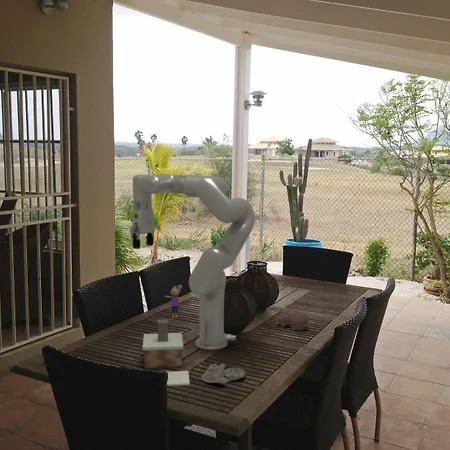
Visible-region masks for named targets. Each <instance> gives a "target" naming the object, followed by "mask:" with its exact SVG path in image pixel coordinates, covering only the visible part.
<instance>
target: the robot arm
mask: <svg viewBox="0 0 450 450" xmlns="http://www.w3.org/2000/svg"><path fill="white" fill-rule="evenodd" d="M227 192H228V182H227V181H226V180H225V179H224V178H223V177H220V176H217V175H215V176H214V175H200V174H199V175H195V174H185V175H184V174H172V173H170V174H169V173H166V174H165V173H164V174H152V175H149V174H135V175H134V176H133V177H132V209H133V210H132V220H131V221H132V223H131V226H130V228H129V233H130V236H131V239H132V249H133V250H135V249H136V250H140V249H141V238H140V237H141V235H145V236H146V237H145V240H146V241H145V244H146V245H147V246H154V236H155V231H156V223H155V215H154V209H153V198H152V197H153V196H152V195H159V194H167V193H173V194H174V193H175V194H176V193H177V194H183V195H184V196H186V197H187V198H198V199H199V200H200V201H201V202H202V203H203V205H204V206H205V207H206V208H207V209H208V211H209V212H211V214H212V215H213V216H214V218H216V219H217V220H218V221H220V222H221V223H224V224H229V226H228V227H227V228H226V230H225V231H224V234H223V235H222V237H221V238H220V240H219V241H218V243H217V244H216V245H213V246H210V247H208V248H207V249H205V250H204V252H203V253H202V254H201V255H200V257H199V260H198V261H197V263H196V265H195V267H194V268H193V270H192V272H191V273H190V275H189V278H188V279H189V280H188V286H189V289H190V291H191V292H192V293H193V294H195V295H197V296H199V307H198V308H199V314H198V315H199V316H198V318H199V323H198V324H199V333H198V334H199V338H197V339H196V340H195V346H196V347H197V348H199V349H202V350H208V351H214V350H216V351H217V350H220V349H224V348H225V347H227V346H228V341H236V335H235V334H234V335H232V334H231V333H225V331H224V326H225V324H224V321H225V320H224V319H225V316H224V308H225V290H226V284H227V276H226V272H225V270H226V269H228V268H230V267H232V266H233V264H234V263H235V261H236V260H237V258H238V256H239V254H240V252H241V251H242V249H243V247H244V245H245V243H246V242H247V240H248V238H249V237H250V235H251V232H252V231H253V228H254V225H255V220H256V218H255V217H256V216H255V211H254V208H253V206H252V205H251V203H250V202H249V201H248V200H247V199H245V198H241V197H235V198H234V197H233V198H230V199H229V197H227V195H226V193H227Z"/></svg>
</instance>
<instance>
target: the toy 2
mask: <svg viewBox="0 0 450 450" xmlns="http://www.w3.org/2000/svg"><path fill="white" fill-rule="evenodd" d="M289 324H290V327H291V329H292V330H293V331H296V330H297V331H301V330H304V329H305V328H306V326H309V318H308V317H307V315H306V314H305V313H304V312H301V311H296V312H294V313H291V312H289V313H288V314H287V313H285V312H281V313H279V315H278V317H277V319H276V325H277V326H279V325H280V326H281V328H284V327H286V326H287V325H289Z"/></svg>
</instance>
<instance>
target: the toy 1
mask: <svg viewBox="0 0 450 450" xmlns="http://www.w3.org/2000/svg"><path fill="white" fill-rule="evenodd" d="M181 289H183V285H182V284H179V285H171V290H170V294H171V296H169V295H164V297H165V298H170V299H171V311H172V313H171V315H172V316H171V318H172V319H174V318H175V319H177V318H178V317H179V316H178V314H179V313H178V309H179V307H178V306H179V300H185V299H186V298H185V297H178V295H179V294H180V293H181Z"/></svg>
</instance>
